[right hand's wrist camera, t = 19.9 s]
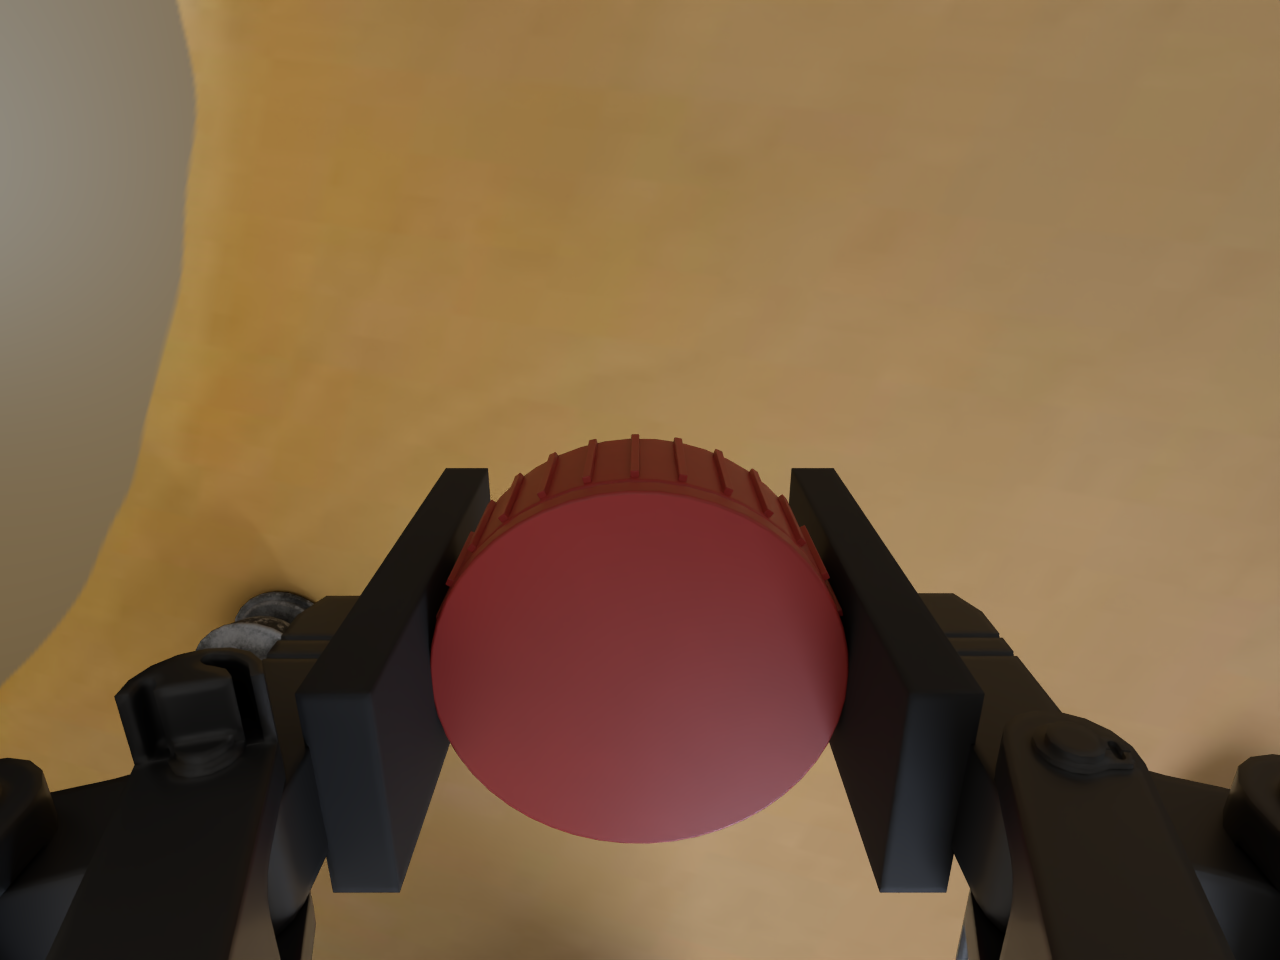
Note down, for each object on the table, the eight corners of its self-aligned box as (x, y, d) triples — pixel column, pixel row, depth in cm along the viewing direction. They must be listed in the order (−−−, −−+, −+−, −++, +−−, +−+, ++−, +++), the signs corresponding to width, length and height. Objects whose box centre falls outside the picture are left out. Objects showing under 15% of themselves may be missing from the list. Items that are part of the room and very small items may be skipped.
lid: (650, 803, 13) (651, 908, 12) (385, 614, 12) (336, 697, 10) (895, 594, 12) (945, 673, 10) (624, 350, 11) (622, 389, 9)
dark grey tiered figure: (216, 656, 41) (56, 833, 30) (247, 569, 39) (88, 722, 28) (321, 697, 42) (205, 884, 31) (356, 614, 40) (245, 780, 29)
